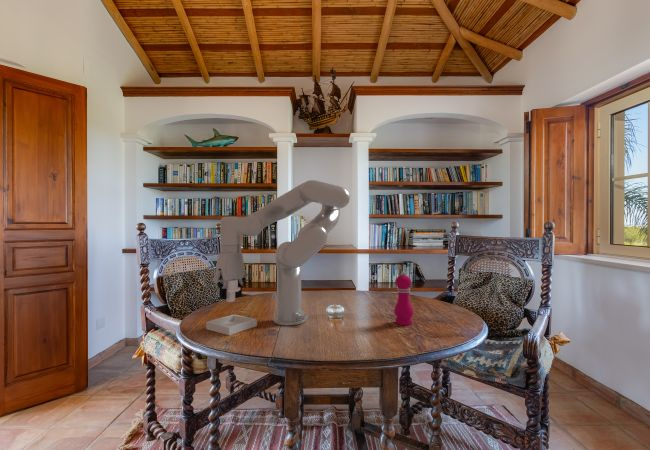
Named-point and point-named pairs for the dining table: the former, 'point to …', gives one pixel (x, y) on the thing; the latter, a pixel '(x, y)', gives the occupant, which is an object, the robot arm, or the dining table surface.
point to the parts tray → (231, 324)
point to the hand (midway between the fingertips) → (230, 296)
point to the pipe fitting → (232, 290)
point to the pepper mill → (403, 300)
